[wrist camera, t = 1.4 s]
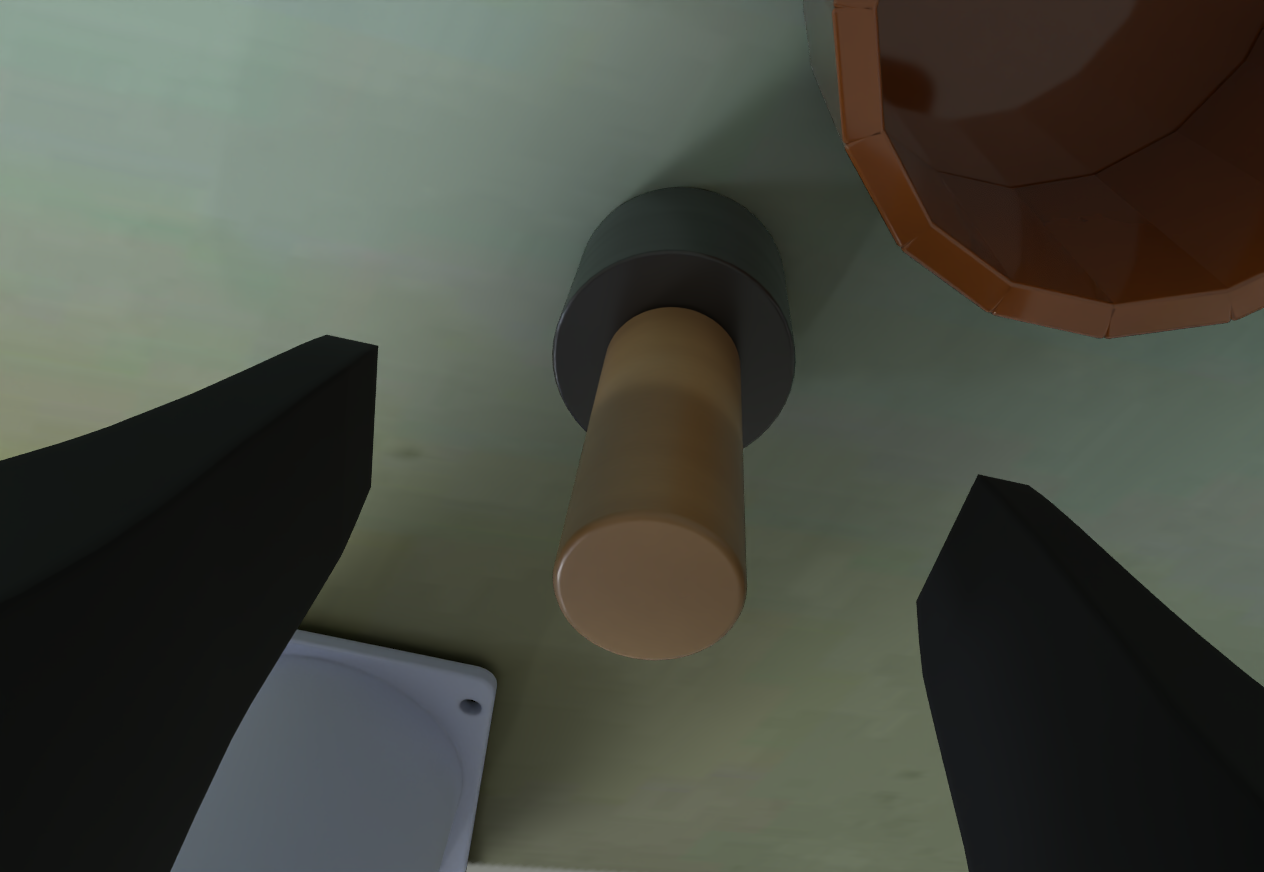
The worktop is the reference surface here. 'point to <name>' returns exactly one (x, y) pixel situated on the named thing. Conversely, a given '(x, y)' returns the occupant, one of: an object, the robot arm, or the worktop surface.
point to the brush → (667, 417)
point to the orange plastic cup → (1061, 150)
